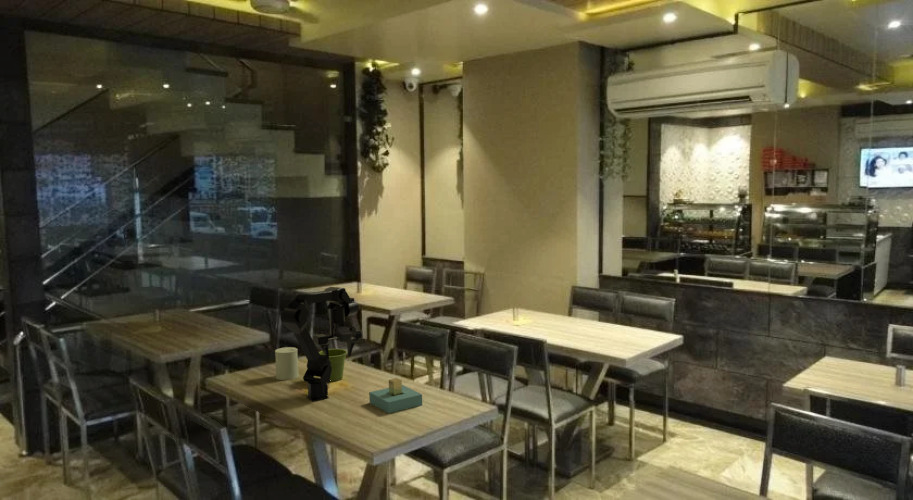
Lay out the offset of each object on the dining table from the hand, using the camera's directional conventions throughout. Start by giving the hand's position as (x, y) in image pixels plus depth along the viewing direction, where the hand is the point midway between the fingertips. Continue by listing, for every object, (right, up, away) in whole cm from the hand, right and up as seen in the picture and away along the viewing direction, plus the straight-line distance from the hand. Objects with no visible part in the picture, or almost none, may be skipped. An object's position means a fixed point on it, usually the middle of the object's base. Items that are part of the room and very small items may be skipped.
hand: (338, 358), depth 255 cm
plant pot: (-4, -11, +13) cm, 17 cm away
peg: (+24, -14, -18) cm, 33 cm away
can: (-25, -11, +17) cm, 32 cm away
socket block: (+24, -14, -18) cm, 33 cm away
